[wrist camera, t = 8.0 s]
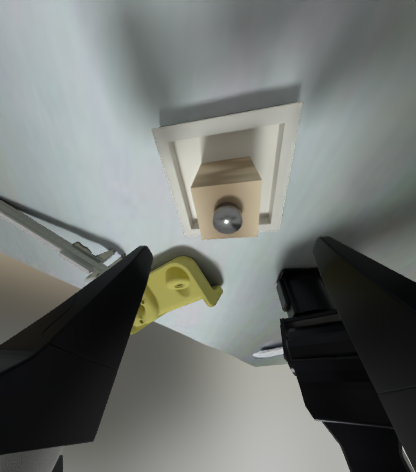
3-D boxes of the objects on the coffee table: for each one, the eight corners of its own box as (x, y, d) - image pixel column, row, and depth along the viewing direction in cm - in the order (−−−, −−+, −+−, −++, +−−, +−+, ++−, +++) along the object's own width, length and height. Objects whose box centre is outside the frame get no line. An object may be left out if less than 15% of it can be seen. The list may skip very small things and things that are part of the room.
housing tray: (293, 102, 12) (303, 101, 10) (274, 220, 19) (279, 230, 17) (160, 127, 13) (151, 129, 12) (188, 226, 20) (185, 236, 19)
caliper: (127, 254, 26) (105, 287, 21) (125, 257, 26) (103, 290, 21) (-31, 181, 19) (-116, 206, 14) (-29, 188, 20) (-109, 214, 15)
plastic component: (180, 257, 21) (217, 315, 22) (198, 241, 28) (226, 286, 29) (102, 299, 29) (132, 341, 29) (132, 279, 35) (155, 313, 36)
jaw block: (249, 156, 14) (265, 186, 8) (248, 201, 17) (259, 245, 11) (201, 163, 15) (187, 194, 9) (208, 205, 17) (200, 248, 12)
